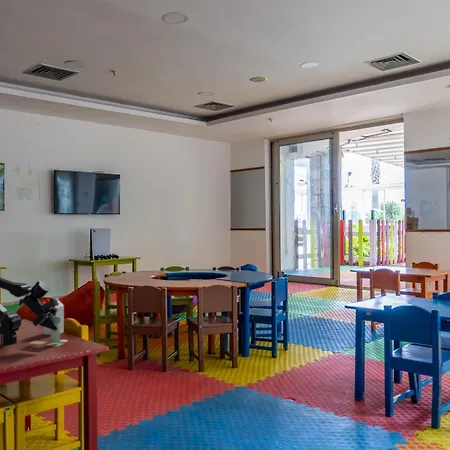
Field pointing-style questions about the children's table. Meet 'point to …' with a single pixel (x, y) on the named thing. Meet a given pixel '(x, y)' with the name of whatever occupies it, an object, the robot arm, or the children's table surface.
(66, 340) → the white flat rectangular board
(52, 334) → the green joystick knob
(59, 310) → the milk carton
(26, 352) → the children's table surface
